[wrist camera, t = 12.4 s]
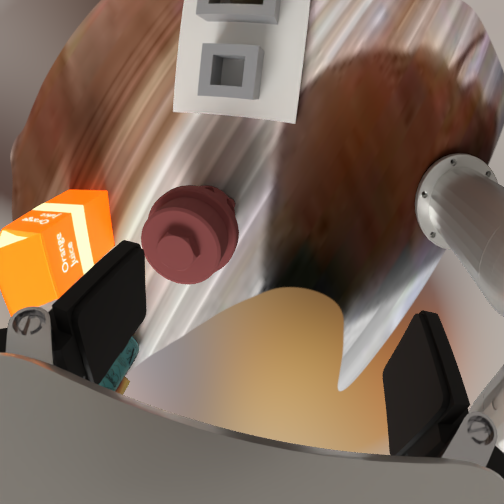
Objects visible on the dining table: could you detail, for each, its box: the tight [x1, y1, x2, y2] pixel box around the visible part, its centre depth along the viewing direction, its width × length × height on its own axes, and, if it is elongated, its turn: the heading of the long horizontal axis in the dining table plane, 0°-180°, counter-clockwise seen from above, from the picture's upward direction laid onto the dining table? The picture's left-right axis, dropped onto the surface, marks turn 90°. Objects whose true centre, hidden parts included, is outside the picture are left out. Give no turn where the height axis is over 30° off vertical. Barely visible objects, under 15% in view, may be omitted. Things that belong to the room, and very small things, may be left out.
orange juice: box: [0, 190, 115, 317], centre depth 36 cm, size 8×9×20 cm
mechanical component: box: [141, 185, 239, 284], centre depth 35 cm, size 12×10×10 cm
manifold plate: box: [173, 0, 311, 124], centre depth 28 cm, size 14×20×6 cm
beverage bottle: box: [98, 337, 139, 391], centre depth 46 cm, size 6×7×20 cm
